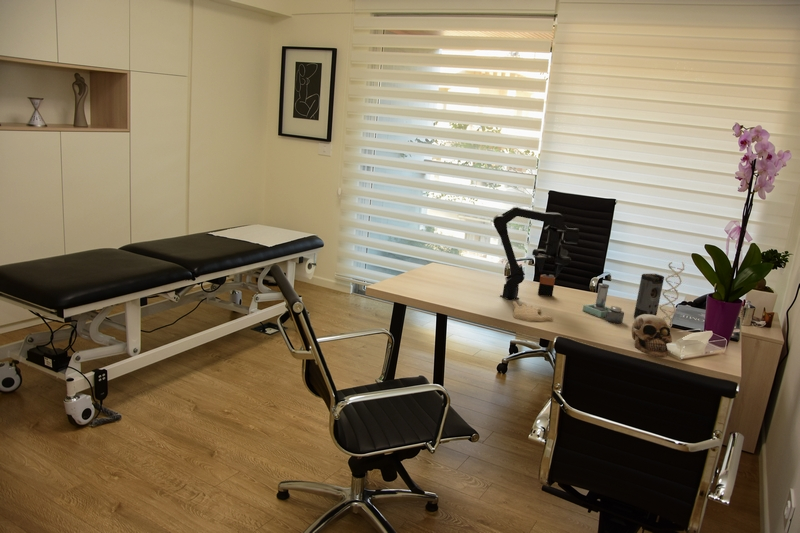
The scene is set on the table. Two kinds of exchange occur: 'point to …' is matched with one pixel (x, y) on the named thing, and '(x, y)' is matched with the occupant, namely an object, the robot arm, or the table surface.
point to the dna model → (671, 289)
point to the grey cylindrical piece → (601, 297)
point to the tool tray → (594, 310)
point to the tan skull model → (651, 335)
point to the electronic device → (649, 294)
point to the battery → (546, 285)
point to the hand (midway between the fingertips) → (548, 274)
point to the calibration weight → (614, 315)
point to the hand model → (529, 313)
